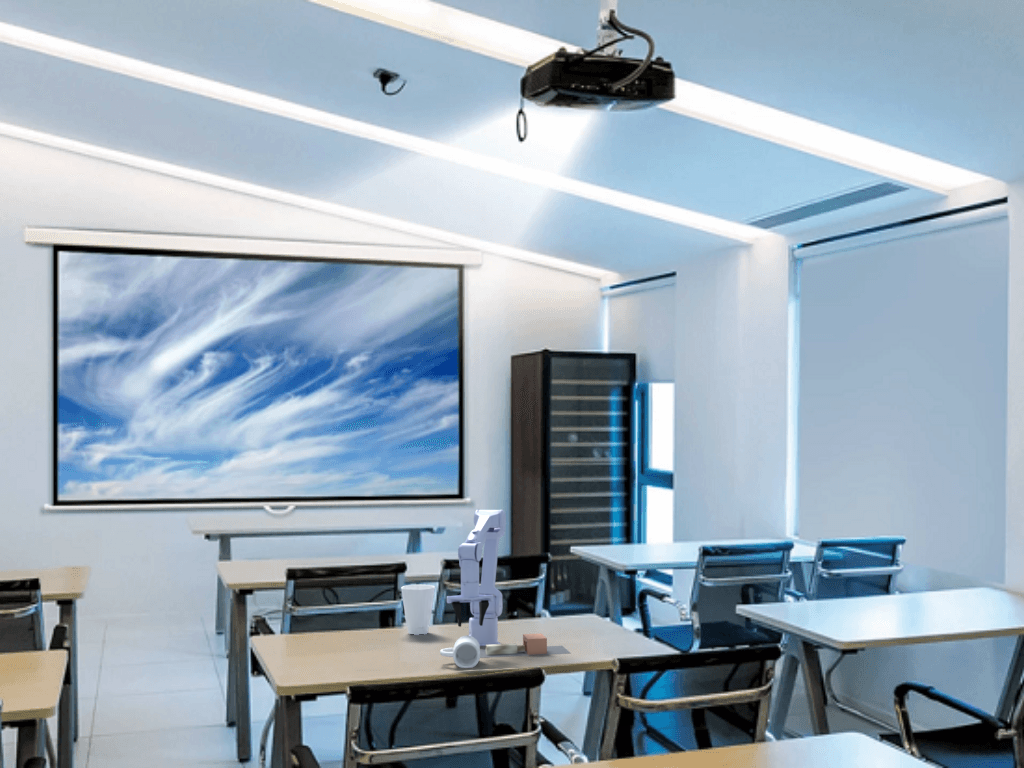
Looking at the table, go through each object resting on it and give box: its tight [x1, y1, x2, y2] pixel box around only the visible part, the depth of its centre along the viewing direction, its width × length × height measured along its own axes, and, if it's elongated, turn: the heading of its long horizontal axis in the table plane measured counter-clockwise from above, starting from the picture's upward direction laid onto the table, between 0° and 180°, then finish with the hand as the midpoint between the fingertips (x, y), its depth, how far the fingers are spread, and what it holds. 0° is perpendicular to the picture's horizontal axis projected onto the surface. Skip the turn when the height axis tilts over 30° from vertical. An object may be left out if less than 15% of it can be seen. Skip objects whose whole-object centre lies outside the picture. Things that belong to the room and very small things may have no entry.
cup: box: [400, 583, 436, 636], centre depth 366 cm, size 12×12×16 cm
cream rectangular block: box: [485, 643, 525, 655], centre depth 330 cm, size 12×3×3 cm, turn 101°
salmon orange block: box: [522, 633, 548, 656], centre depth 332 cm, size 6×8×5 cm
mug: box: [439, 635, 481, 669], centre depth 315 cm, size 12×10×8 cm
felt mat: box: [480, 645, 571, 659], centre depth 331 cm, size 32×12×1 cm, turn 101°
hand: (470, 625), depth 328 cm, fingers open, 6 cm apart
